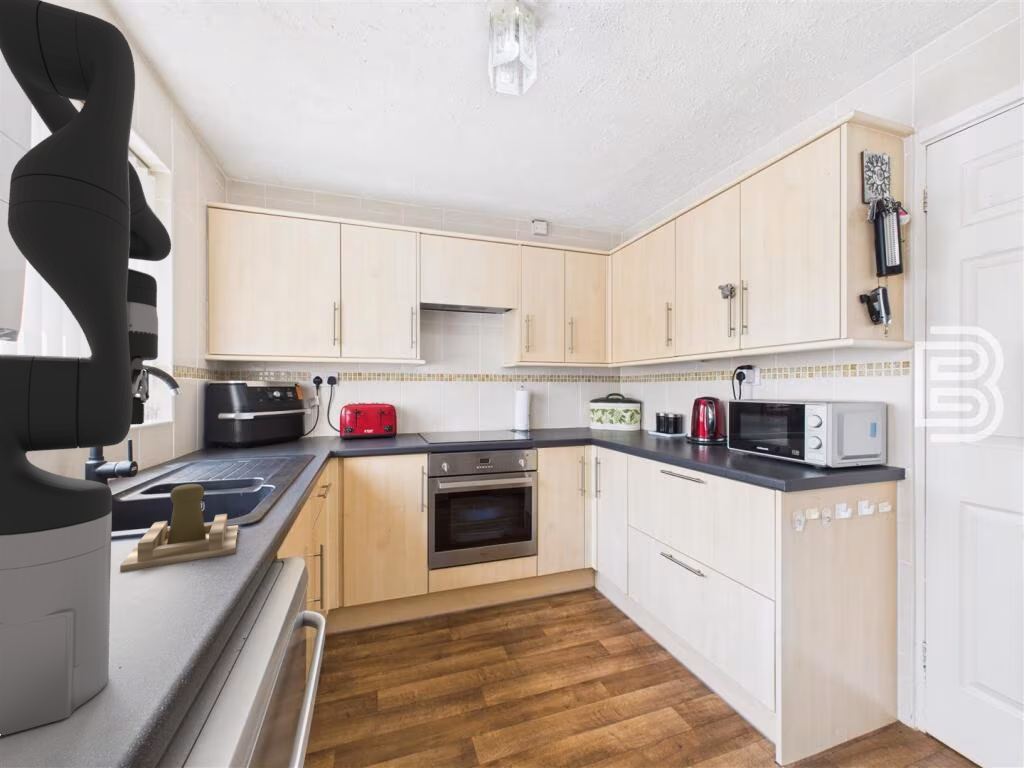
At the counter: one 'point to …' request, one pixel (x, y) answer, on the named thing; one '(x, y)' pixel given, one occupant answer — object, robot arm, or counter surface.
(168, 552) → the cradle
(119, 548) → the counter surface
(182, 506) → the olive pepper mill
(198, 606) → the counter surface
